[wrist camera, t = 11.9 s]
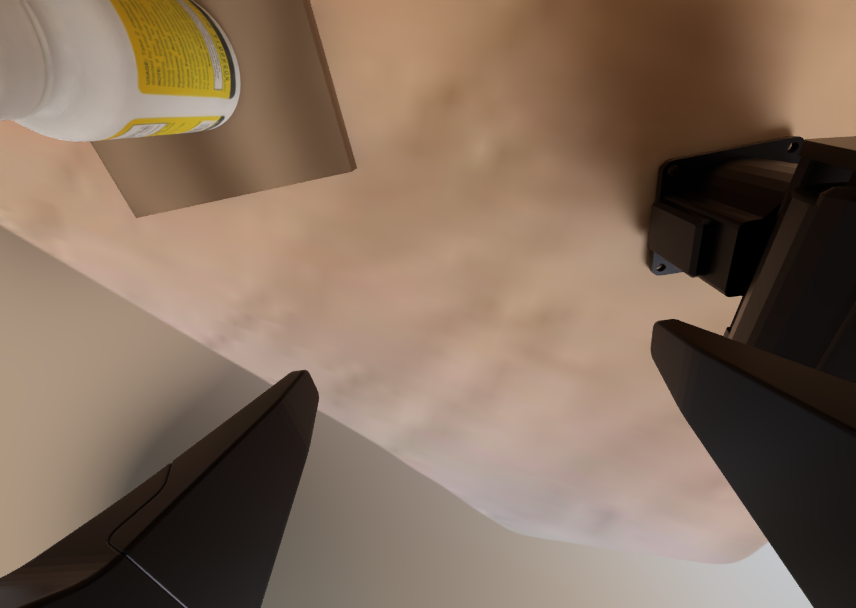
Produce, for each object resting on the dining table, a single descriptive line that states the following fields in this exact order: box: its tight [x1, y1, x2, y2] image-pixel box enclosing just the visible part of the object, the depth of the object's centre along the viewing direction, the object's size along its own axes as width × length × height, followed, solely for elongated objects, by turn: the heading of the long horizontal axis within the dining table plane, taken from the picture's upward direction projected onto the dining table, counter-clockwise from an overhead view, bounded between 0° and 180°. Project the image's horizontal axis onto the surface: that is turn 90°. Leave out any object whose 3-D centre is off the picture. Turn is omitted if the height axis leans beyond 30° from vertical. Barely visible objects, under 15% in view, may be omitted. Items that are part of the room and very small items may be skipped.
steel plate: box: [90, 0, 357, 218], centre depth 17 cm, size 13×10×1 cm
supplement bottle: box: [0, 0, 241, 142], centre depth 12 cm, size 5×5×10 cm
